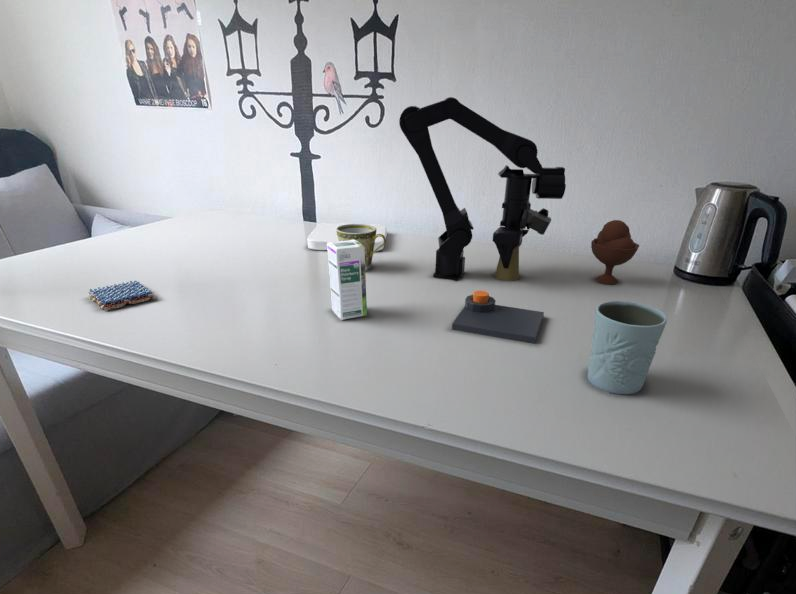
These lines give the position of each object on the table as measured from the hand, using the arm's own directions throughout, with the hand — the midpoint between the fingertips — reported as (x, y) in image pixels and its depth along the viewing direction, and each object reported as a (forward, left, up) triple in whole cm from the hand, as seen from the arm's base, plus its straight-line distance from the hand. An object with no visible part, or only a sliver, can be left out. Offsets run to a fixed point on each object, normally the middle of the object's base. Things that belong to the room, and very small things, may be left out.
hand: (509, 263), depth 121 cm
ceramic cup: (-36, -9, -4) cm, 37 cm away
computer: (-51, +13, -4) cm, 53 cm away
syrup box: (-26, -37, -4) cm, 45 cm away
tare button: (-1, -26, -1) cm, 26 cm away
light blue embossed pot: (+26, -45, -4) cm, 52 cm away
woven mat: (-74, -49, -4) cm, 89 cm away
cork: (0, 0, -4) cm, 4 cm away
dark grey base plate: (+4, -30, -3) cm, 30 cm away
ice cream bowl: (+24, +7, -4) cm, 25 cm away
